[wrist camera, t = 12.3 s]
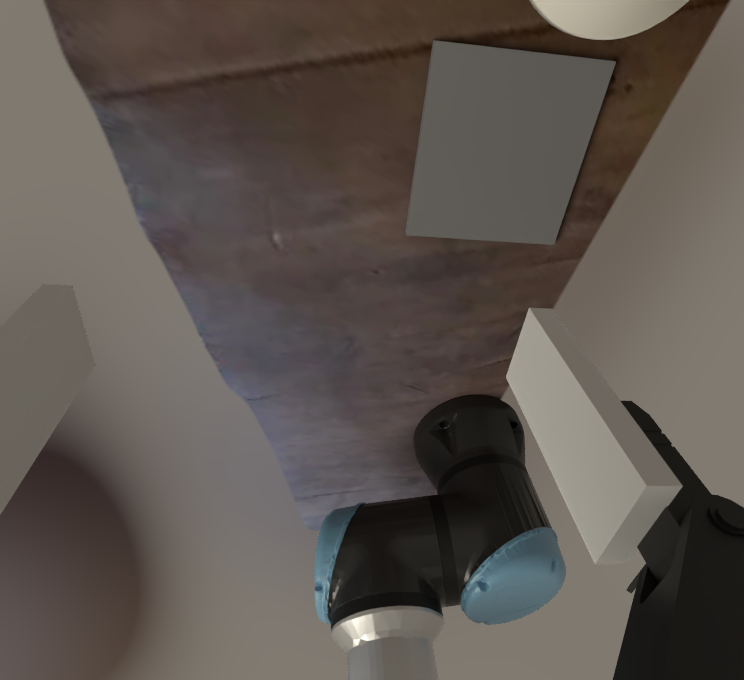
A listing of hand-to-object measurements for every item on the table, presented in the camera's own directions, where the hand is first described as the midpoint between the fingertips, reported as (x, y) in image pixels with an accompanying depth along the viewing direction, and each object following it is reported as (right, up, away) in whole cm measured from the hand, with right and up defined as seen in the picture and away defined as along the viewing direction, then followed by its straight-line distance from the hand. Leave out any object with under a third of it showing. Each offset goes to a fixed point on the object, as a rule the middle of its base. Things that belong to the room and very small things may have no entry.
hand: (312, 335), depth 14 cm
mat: (+14, +18, +31) cm, 39 cm away
